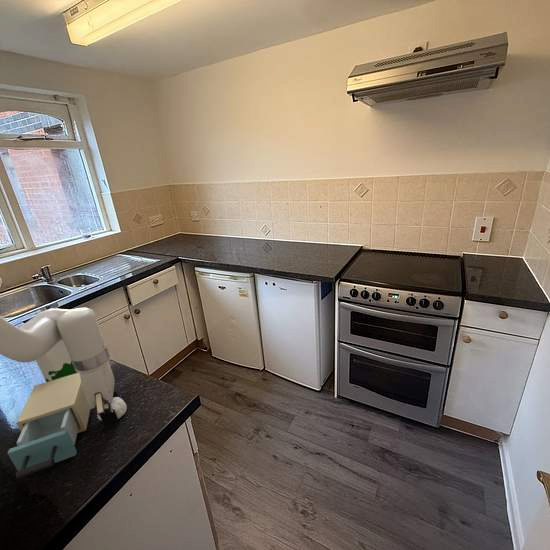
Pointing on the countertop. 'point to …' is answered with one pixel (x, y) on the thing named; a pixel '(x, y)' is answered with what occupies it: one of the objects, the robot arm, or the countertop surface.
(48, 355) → the milk carton
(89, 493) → the countertop surface
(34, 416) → the cabinet
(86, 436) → the countertop surface
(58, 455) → the drawer
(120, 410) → the dumpling
